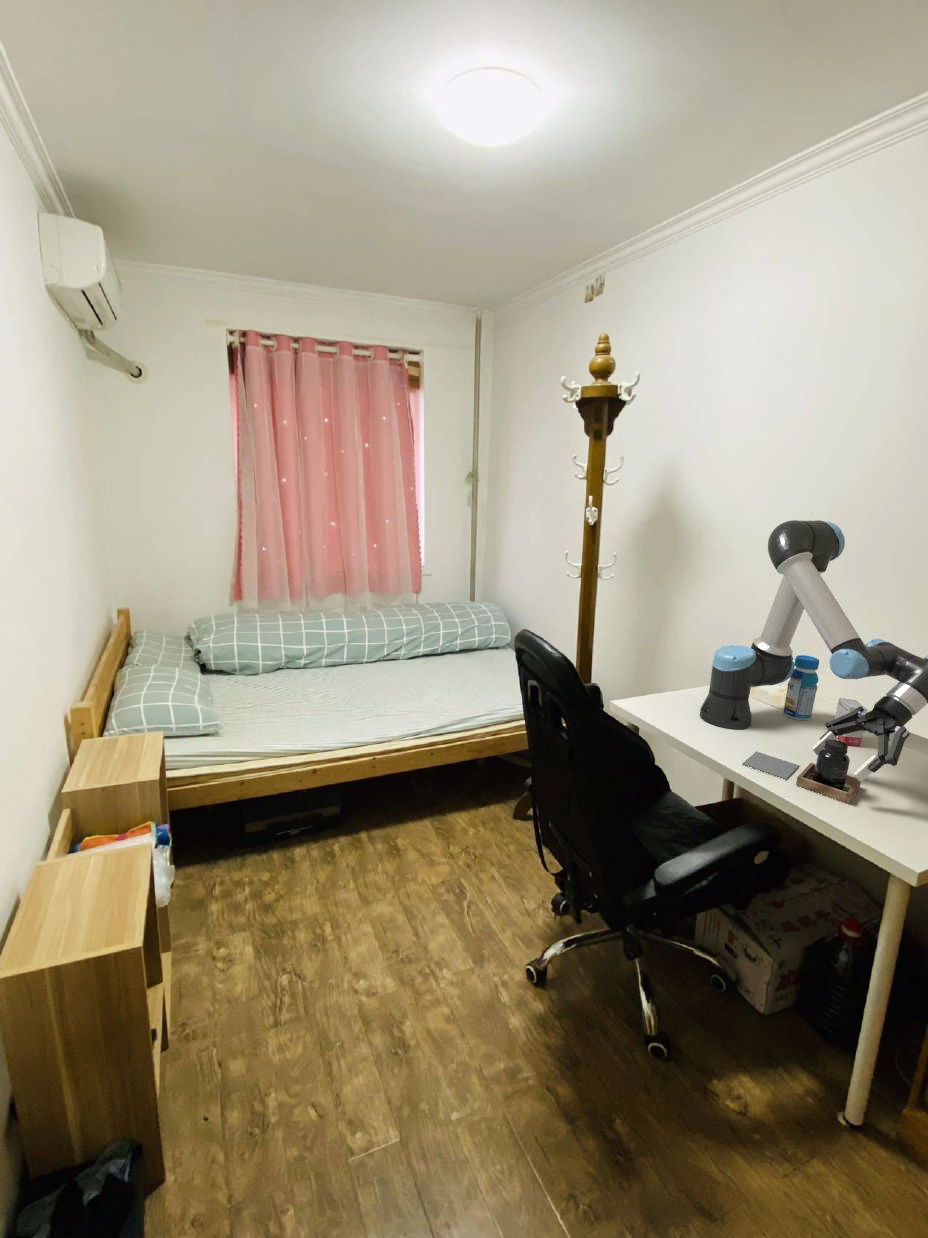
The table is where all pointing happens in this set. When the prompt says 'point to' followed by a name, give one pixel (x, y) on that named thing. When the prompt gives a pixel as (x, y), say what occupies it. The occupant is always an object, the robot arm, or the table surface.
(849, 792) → the walnut open box
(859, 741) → the ink box
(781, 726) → the table surface
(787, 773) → the grey rubber mat
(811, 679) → the beverage bottle
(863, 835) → the table surface
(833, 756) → the supplement bottle
